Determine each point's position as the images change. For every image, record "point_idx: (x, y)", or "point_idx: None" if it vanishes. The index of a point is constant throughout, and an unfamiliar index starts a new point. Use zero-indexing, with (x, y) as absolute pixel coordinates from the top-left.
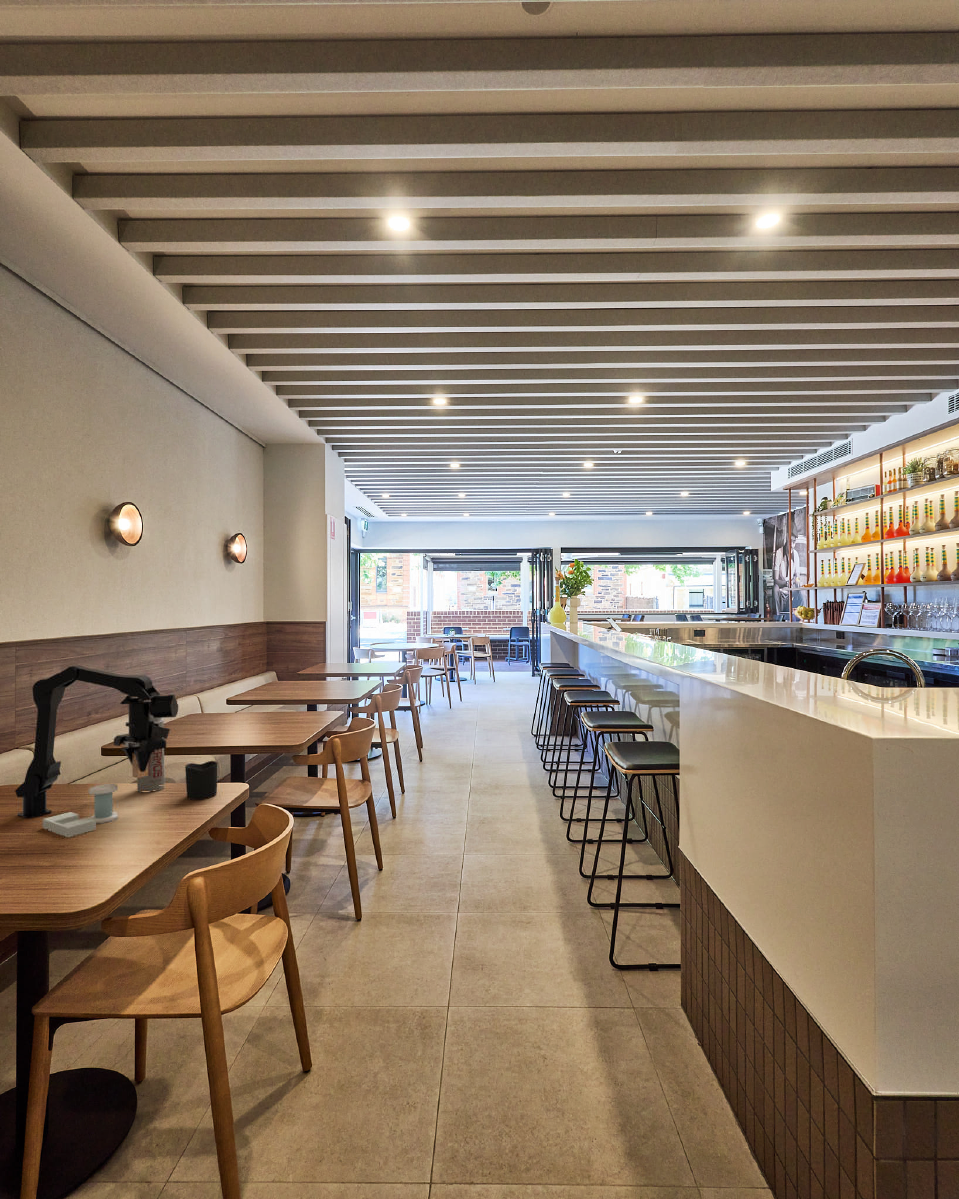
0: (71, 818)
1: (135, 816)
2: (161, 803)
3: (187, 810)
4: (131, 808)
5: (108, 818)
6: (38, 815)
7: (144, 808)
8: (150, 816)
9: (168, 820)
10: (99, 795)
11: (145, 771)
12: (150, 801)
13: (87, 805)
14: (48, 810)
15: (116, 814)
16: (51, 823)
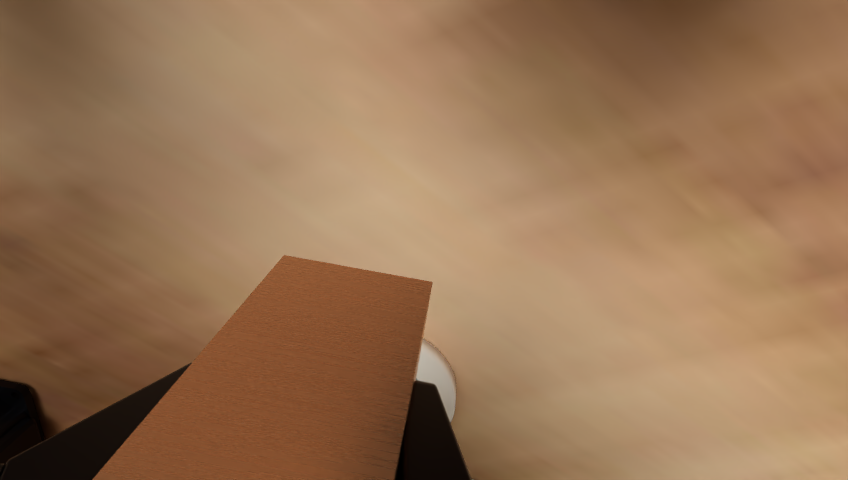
0: None
1: (521, 300)
2: (439, 7)
3: (844, 68)
4: (334, 194)
5: (451, 417)
6: (42, 433)
7: (424, 161)
8: (626, 272)
9: (830, 293)
10: None
11: (418, 357)
12: (295, 3)
13: (20, 244)
14: (1, 392)
15: (431, 366)
16: None
